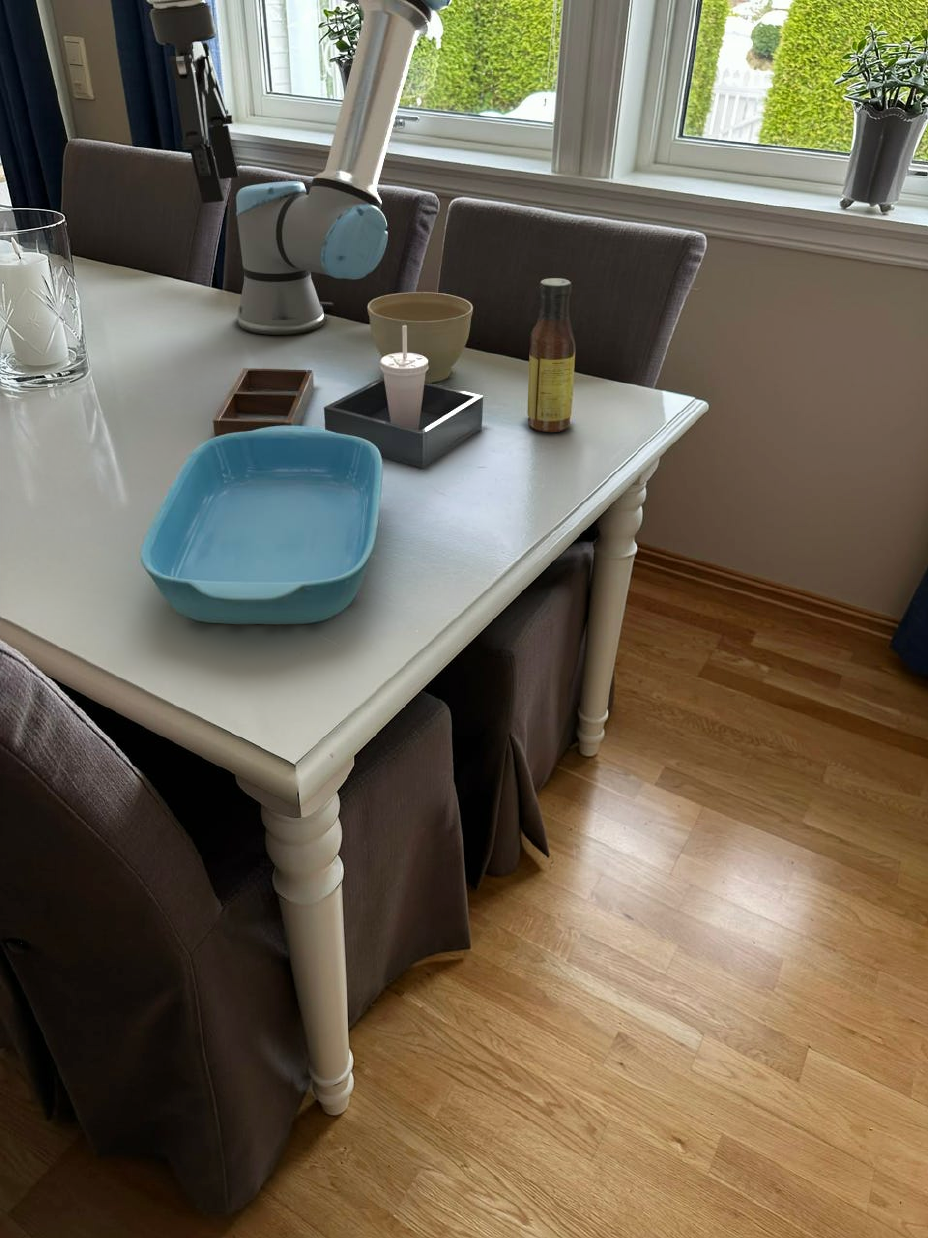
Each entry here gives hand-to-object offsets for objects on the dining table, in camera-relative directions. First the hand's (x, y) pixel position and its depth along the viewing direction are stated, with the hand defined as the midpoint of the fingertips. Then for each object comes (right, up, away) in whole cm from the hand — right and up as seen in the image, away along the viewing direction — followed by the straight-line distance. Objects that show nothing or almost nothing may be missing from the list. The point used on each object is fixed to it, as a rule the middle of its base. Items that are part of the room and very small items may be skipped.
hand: (221, 189), depth 124 cm
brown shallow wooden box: (+5, -30, +5) cm, 31 cm away
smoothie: (+25, -33, 0) cm, 42 cm away
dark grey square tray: (+25, -34, 0) cm, 42 cm away
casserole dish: (+13, -52, -26) cm, 60 cm away
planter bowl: (+26, -20, +20) cm, 39 cm away
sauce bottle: (+45, -32, +5) cm, 56 cm away
